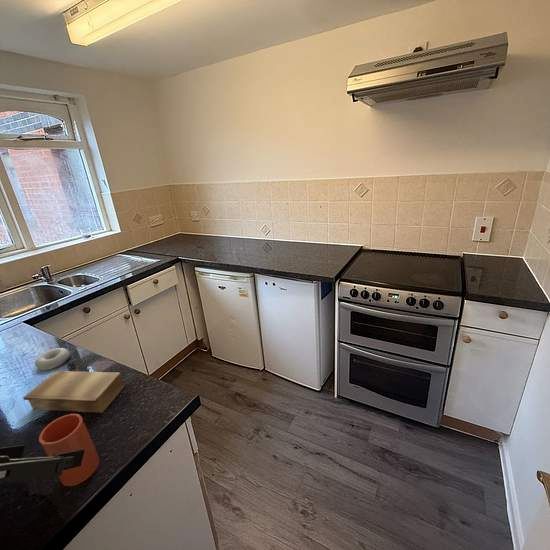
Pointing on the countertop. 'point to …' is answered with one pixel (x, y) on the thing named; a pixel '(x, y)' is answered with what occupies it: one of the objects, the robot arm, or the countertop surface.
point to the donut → (52, 359)
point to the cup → (70, 446)
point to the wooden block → (76, 391)
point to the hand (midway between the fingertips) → (50, 455)
